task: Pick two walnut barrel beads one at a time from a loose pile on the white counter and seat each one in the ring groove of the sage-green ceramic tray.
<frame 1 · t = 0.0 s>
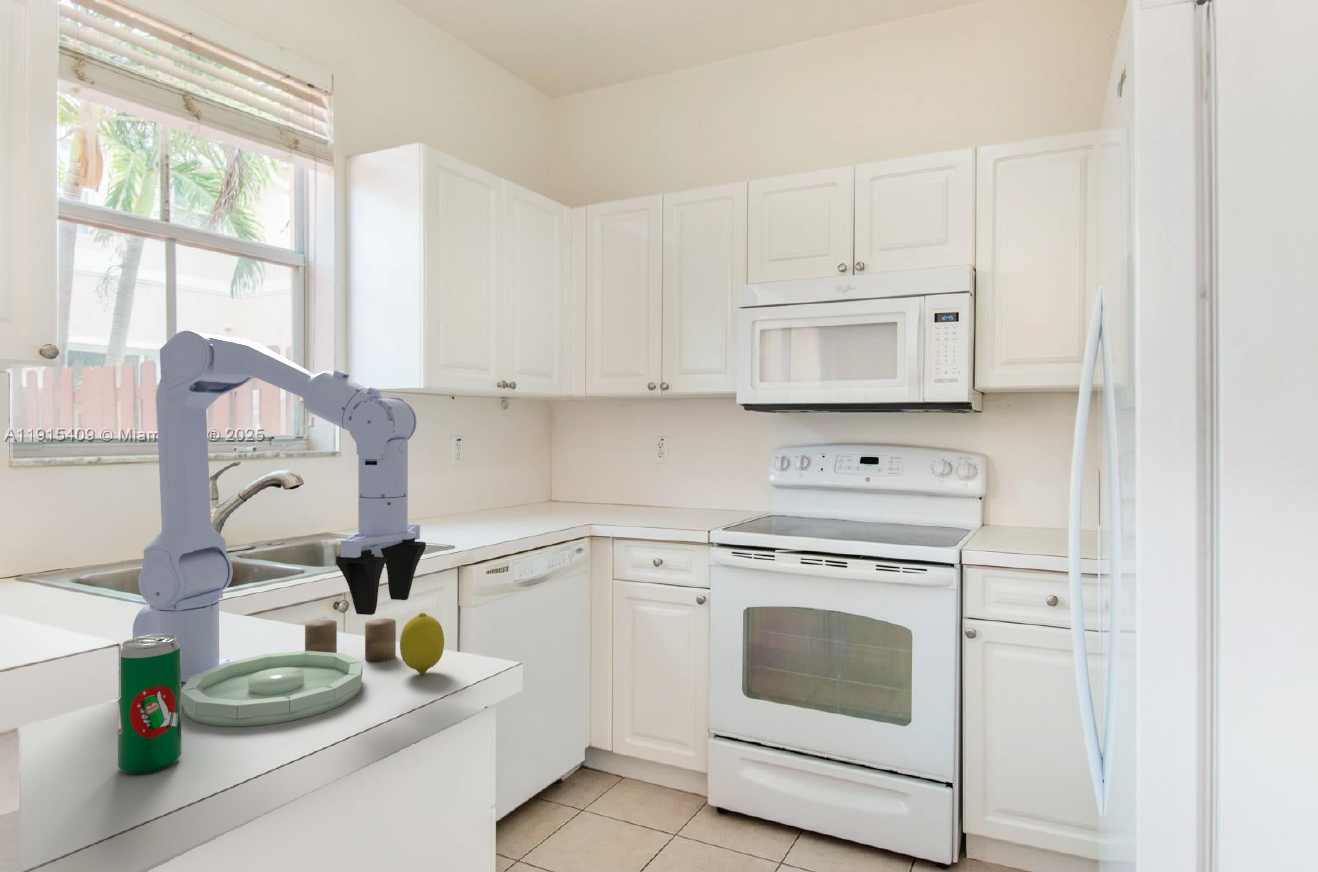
hand: (383, 606, 95), 10 cm above the counter, tool pointing down, fingers open, 7 cm apart
lemon: (422, 675, 101), on the counter
tray: (276, 695, 93), on the counter
soda can: (150, 767, 74), on the counter
bead a: (321, 659, 107), on the counter
bead b: (380, 657, 107), on the counter
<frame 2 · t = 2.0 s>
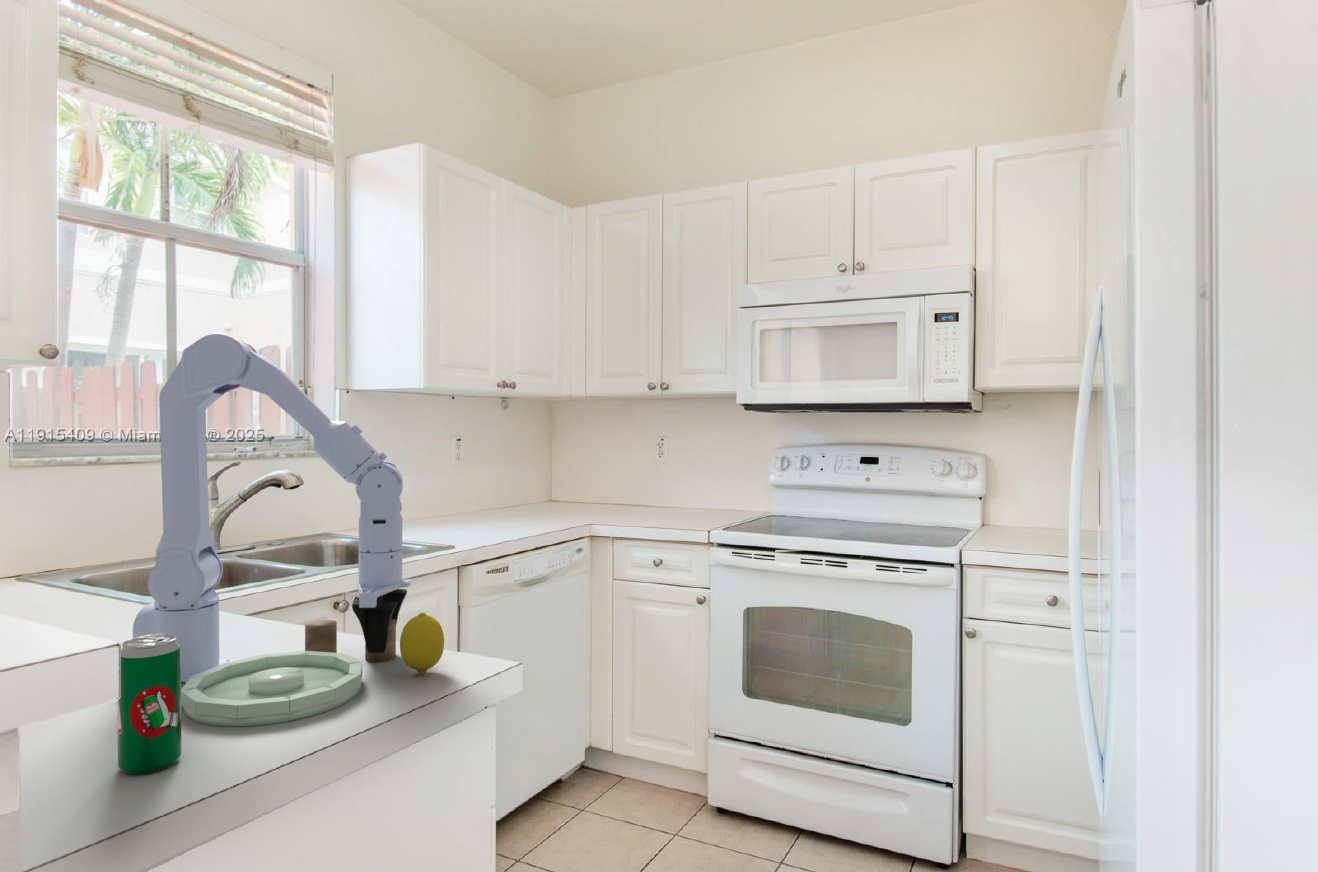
hand: (380, 647, 107), 1 cm above the counter, tool pointing down, fingers closed on bead b, 4 cm apart
bead b: (380, 657, 107), on the counter, touching gripper
everything else where it was.
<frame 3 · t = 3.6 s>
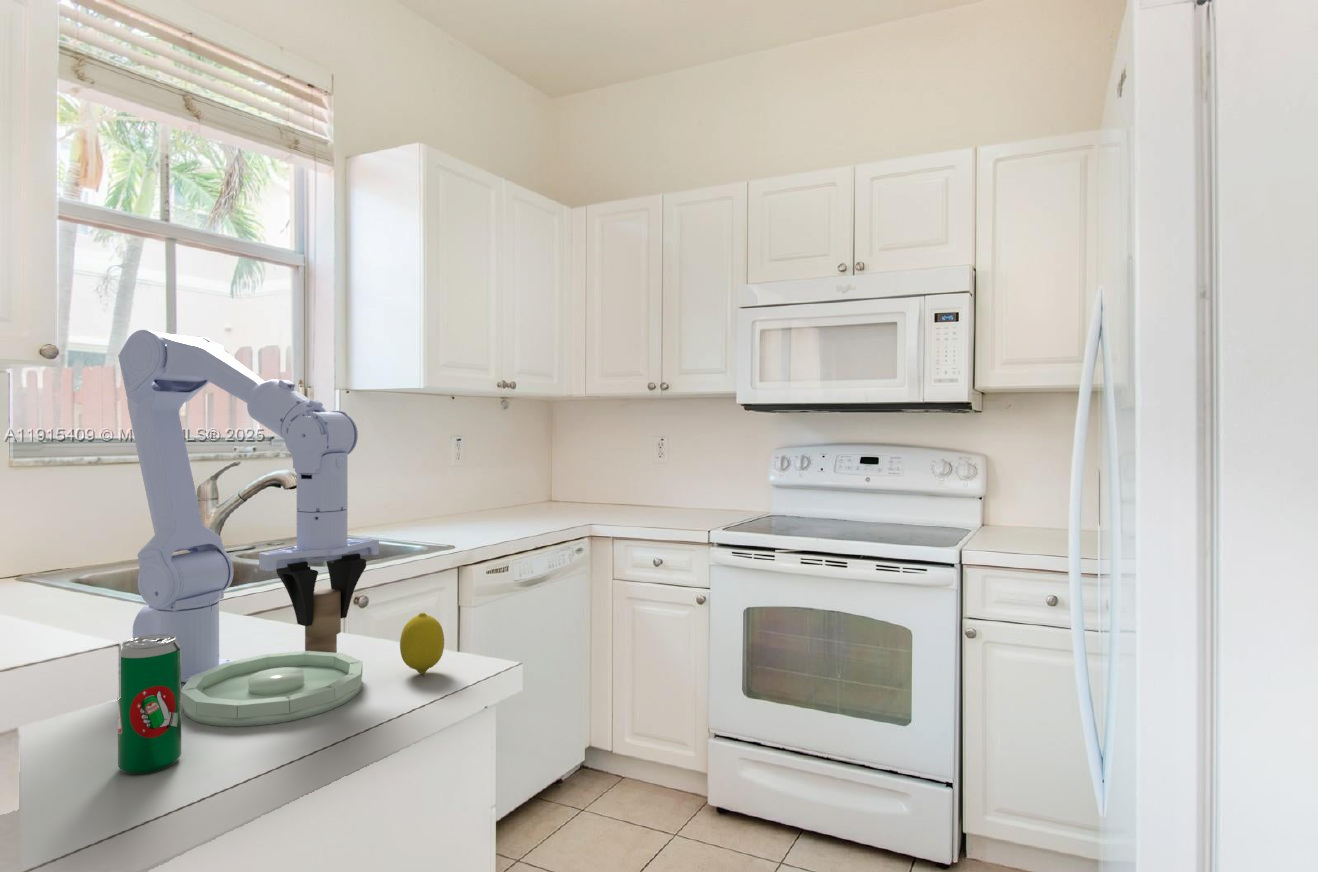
hand: (322, 620, 95), 8 cm above the counter, tool pointing down, fingers closed on bead b, 4 cm apart
bead b: (323, 632, 95), point 7 cm above the counter, touching gripper
everything else where it was.
when the fingers open (3 cm above the counter, at t = 5.4 s): bead b stays where it is, resting on tray.
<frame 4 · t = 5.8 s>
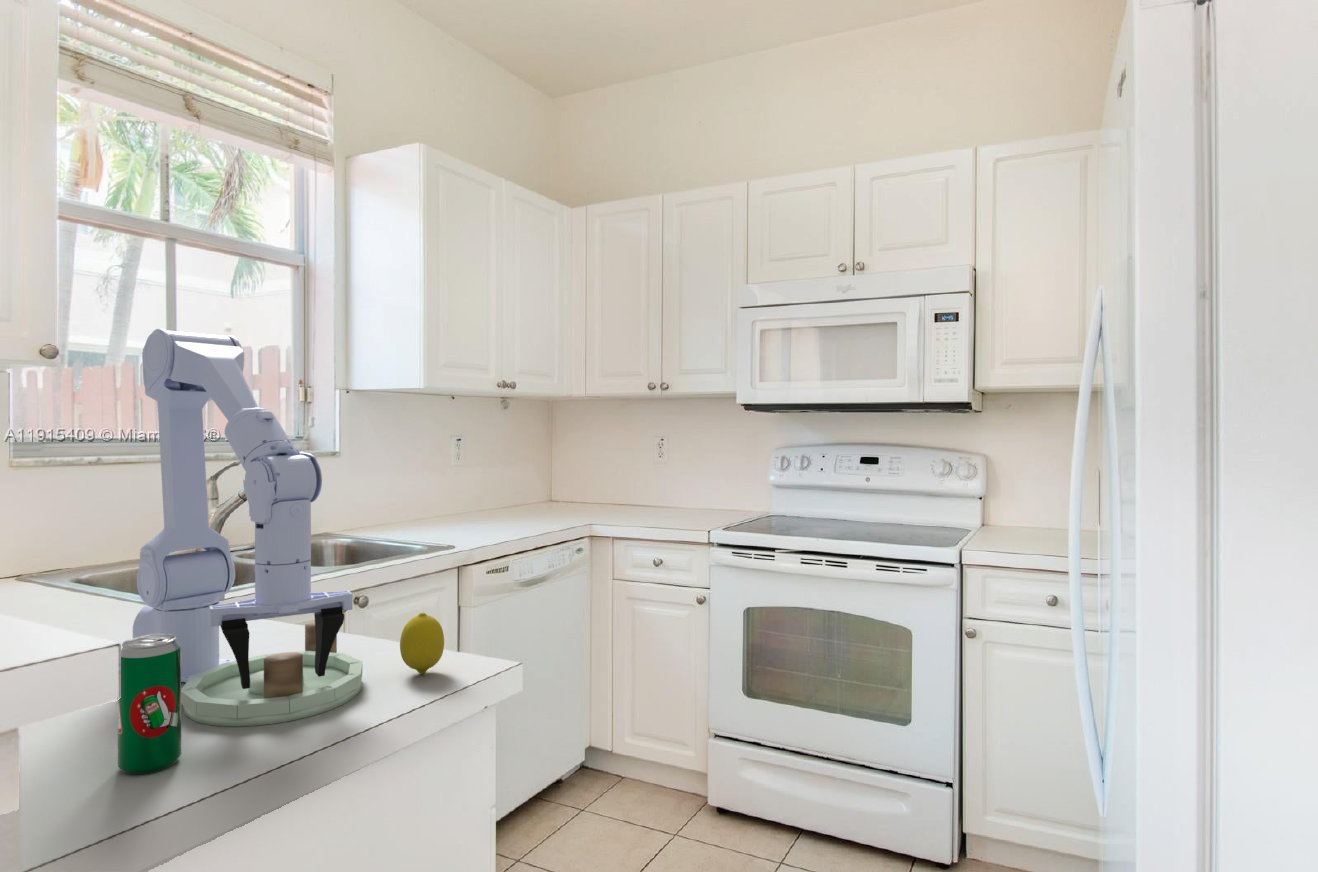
hand: (283, 679, 88), 3 cm above the counter, tool pointing down, fingers open, 7 cm apart
bead b: (283, 701, 88), point 1 cm above the counter, touching tray
everything else where it was.
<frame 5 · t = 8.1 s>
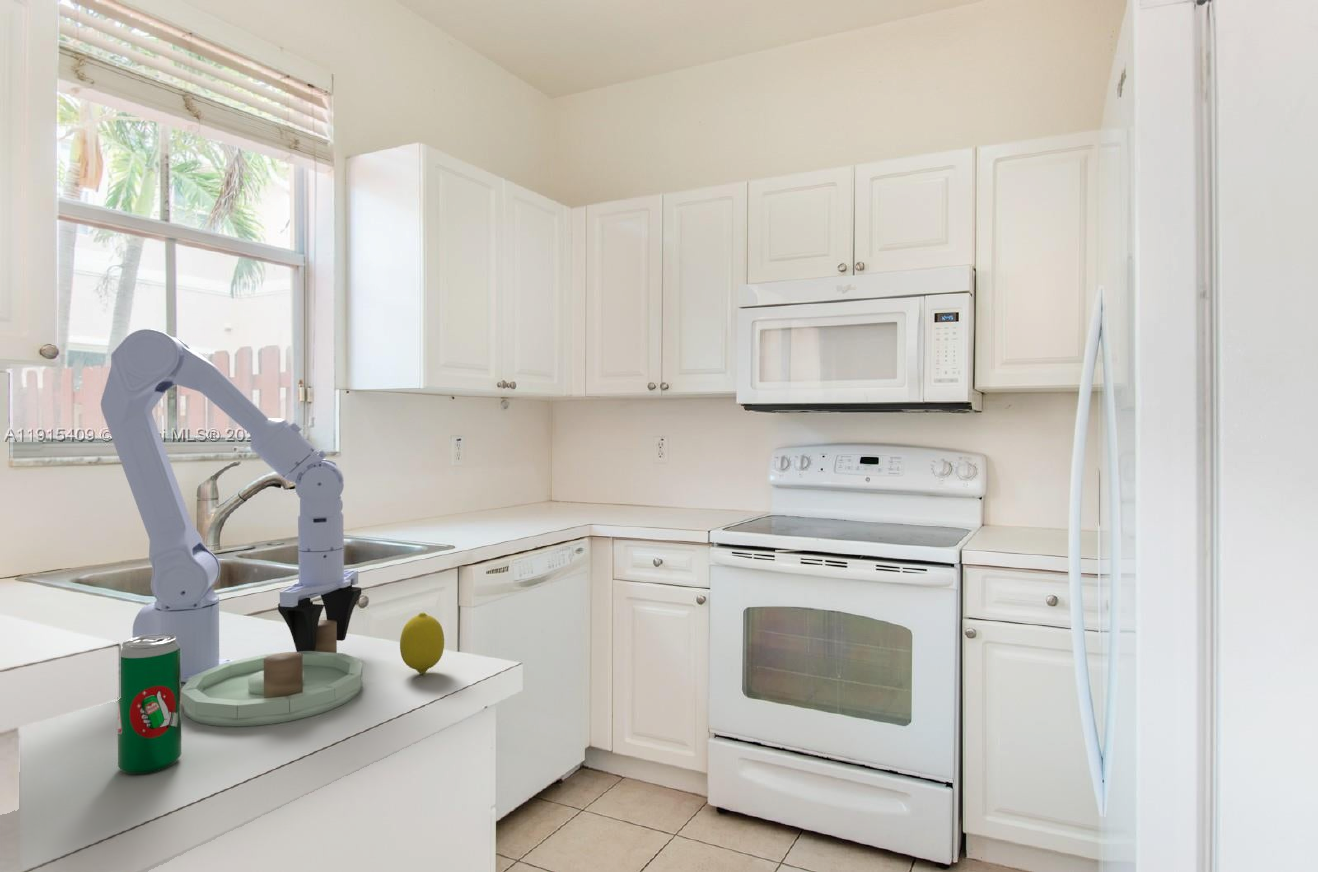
hand: (322, 646, 107), 2 cm above the counter, tool pointing down, fingers open, 6 cm apart
nothing on the counter moved.
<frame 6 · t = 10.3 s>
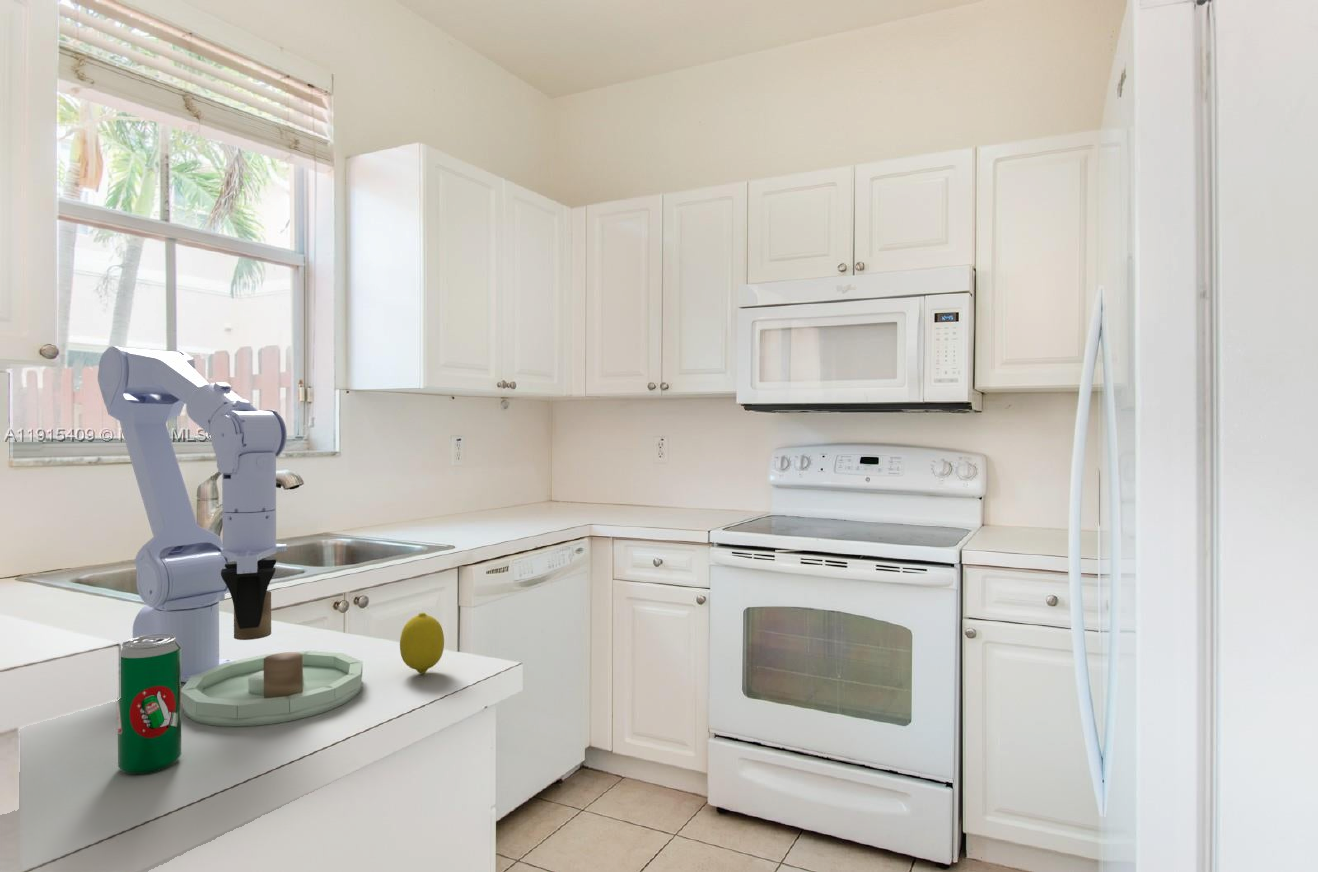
hand: (250, 622, 93), 8 cm above the counter, tool pointing down, fingers closed on bead a, 4 cm apart
bead a: (252, 635, 93), point 7 cm above the counter, touching gripper
everything else where it was.
when the fingers open (3 cm above the counter, at t = 11.9 s): bead a stays where it is, resting on tray.
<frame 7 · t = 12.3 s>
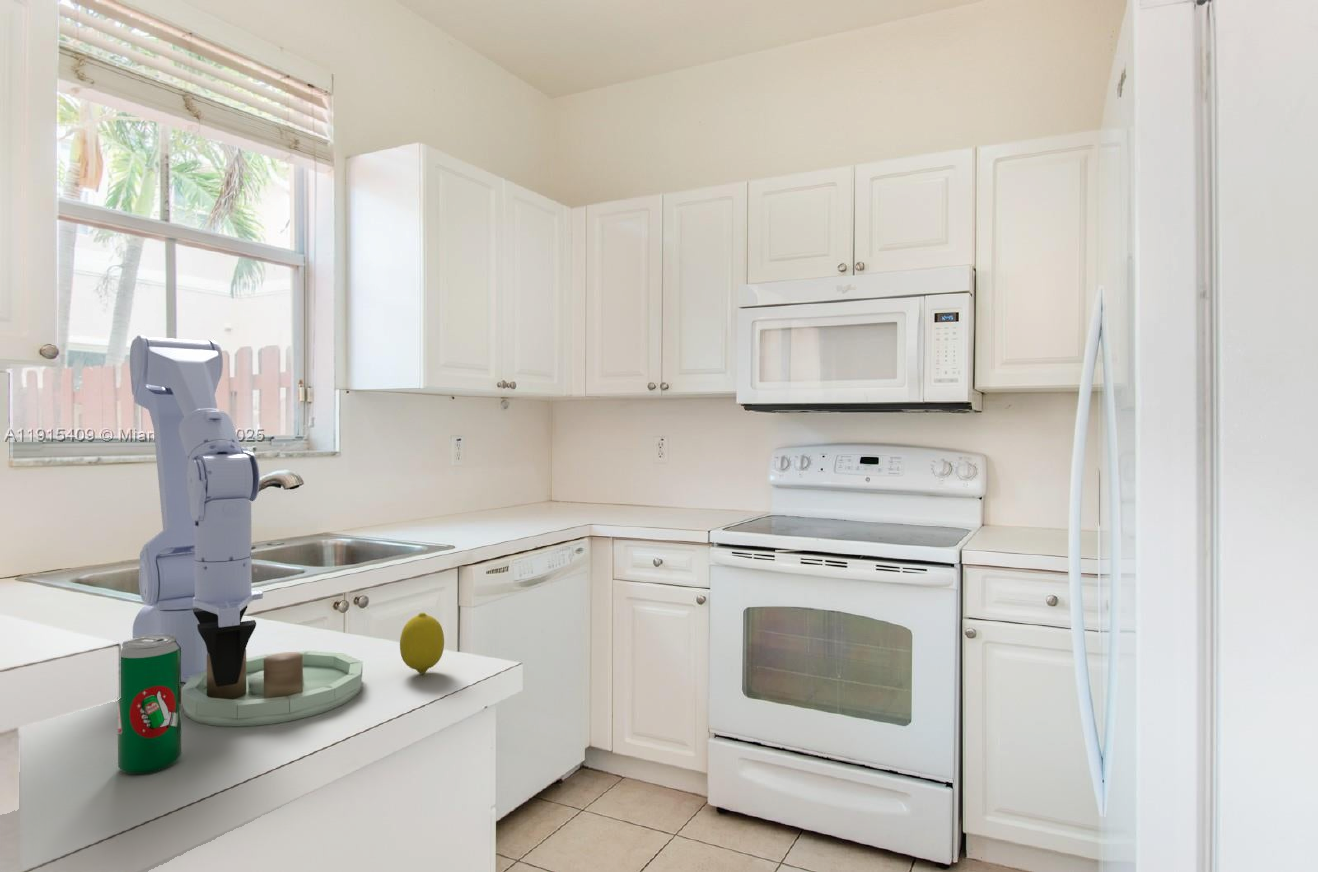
hand: (223, 674, 89), 3 cm above the counter, tool pointing down, fingers open, 7 cm apart
bead a: (226, 695, 90), point 1 cm above the counter, touching tray
everything else where it was.
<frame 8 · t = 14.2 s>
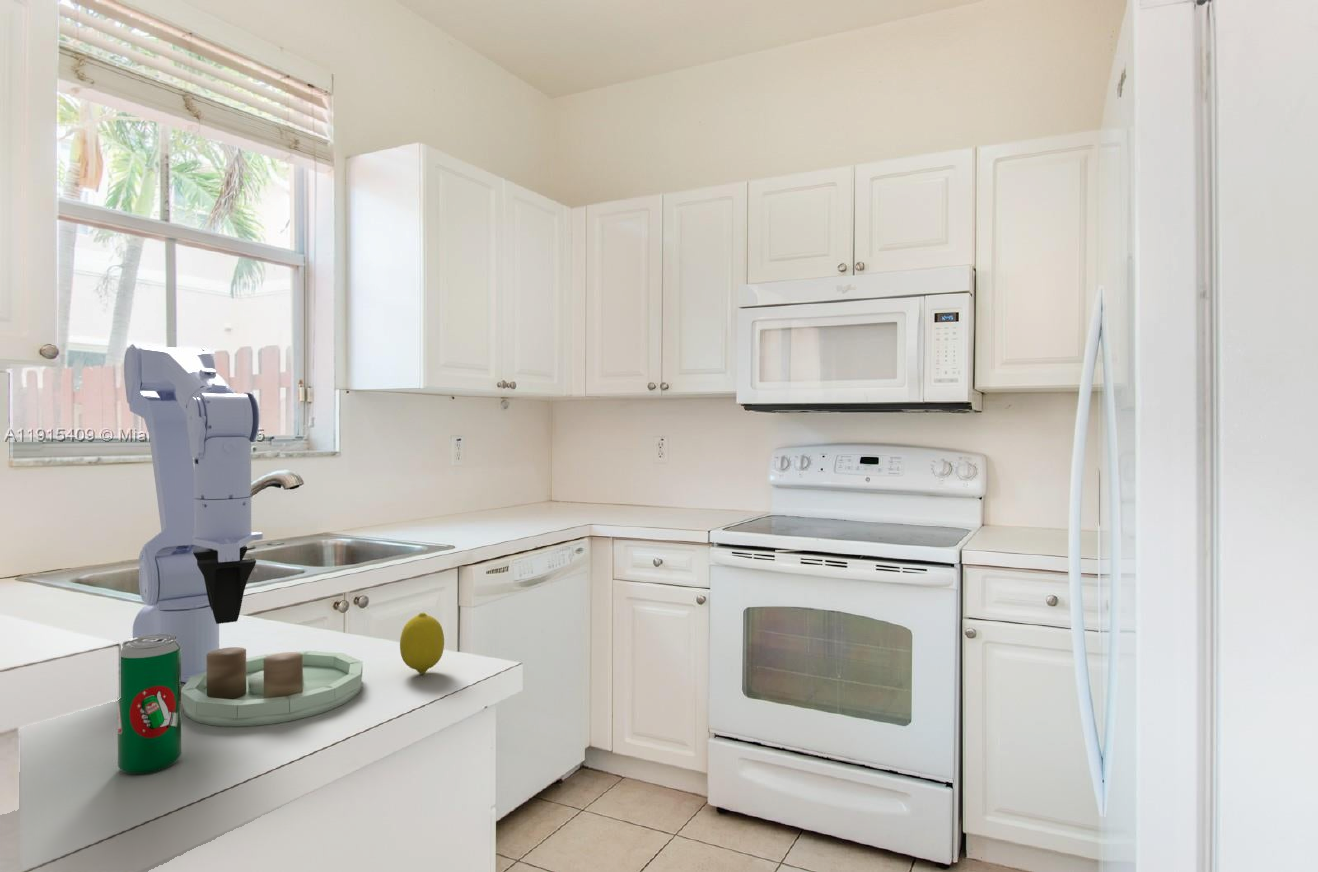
hand: (223, 614, 89), 10 cm above the counter, tool pointing down, fingers open, 7 cm apart
nothing on the counter moved.
at the end: bead b 0.1 cm from the target spot on the tray, point 1.0 cm above the tray's base; bead a 0.4 cm from the target spot on the tray, point 1.0 cm above the tray's base; bead a tilted 0° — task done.
